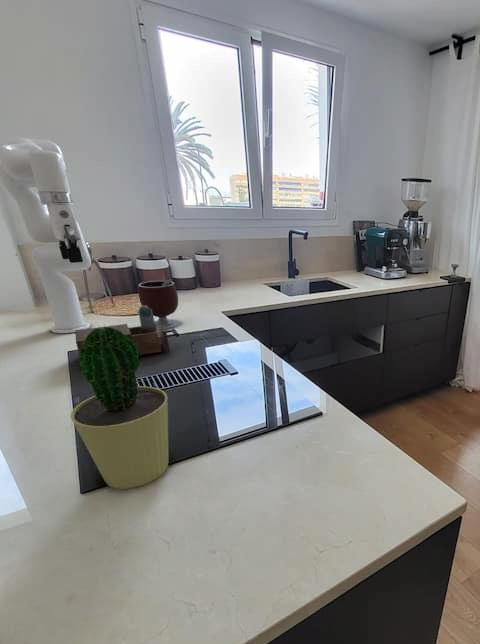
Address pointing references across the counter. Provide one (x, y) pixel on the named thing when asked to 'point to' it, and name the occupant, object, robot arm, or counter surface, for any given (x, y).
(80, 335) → the cabinet
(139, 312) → the bottle opener
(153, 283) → the mate gourd
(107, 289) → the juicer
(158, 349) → the drawer
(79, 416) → the potted cactus
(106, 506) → the counter surface
